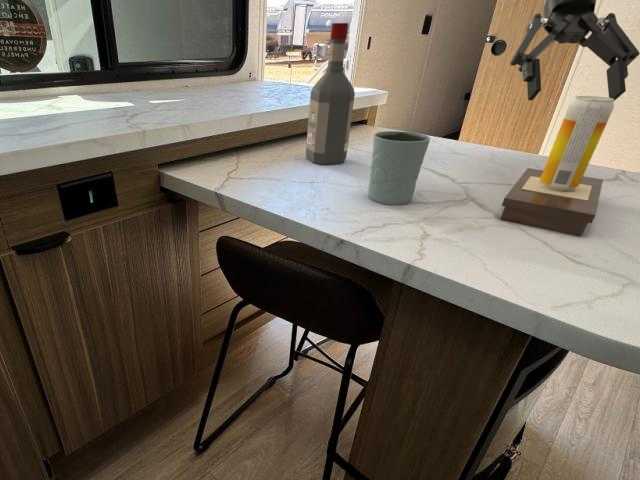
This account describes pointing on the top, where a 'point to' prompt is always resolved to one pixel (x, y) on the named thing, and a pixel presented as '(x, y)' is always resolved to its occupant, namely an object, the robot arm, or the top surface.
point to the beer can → (576, 142)
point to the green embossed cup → (396, 166)
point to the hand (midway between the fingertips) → (575, 95)
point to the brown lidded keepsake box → (552, 204)
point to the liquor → (331, 106)
